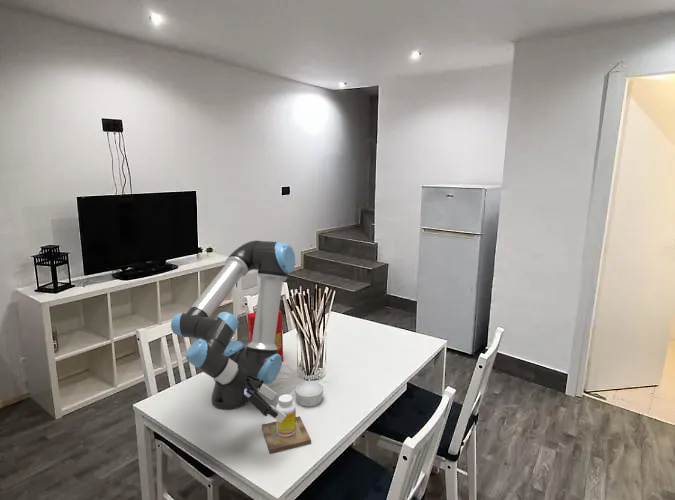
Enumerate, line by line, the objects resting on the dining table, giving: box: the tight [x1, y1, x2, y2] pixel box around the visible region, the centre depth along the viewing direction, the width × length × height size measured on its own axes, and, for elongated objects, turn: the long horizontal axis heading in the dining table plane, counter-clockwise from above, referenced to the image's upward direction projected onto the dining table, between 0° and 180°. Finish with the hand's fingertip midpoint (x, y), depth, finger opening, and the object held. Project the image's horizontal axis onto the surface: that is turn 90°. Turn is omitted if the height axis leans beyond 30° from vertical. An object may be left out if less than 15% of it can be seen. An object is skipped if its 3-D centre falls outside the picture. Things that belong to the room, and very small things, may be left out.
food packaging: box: [247, 309, 284, 363], centre depth 192 cm, size 15×5×25 cm, turn 118°
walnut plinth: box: [261, 416, 312, 454], centre depth 143 cm, size 14×14×2 cm
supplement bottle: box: [275, 393, 297, 437], centre depth 142 cm, size 7×7×13 cm
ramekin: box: [294, 381, 324, 408], centre depth 164 cm, size 11×11×5 cm
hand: (278, 407), depth 139 cm, fingers open, 13 cm apart
